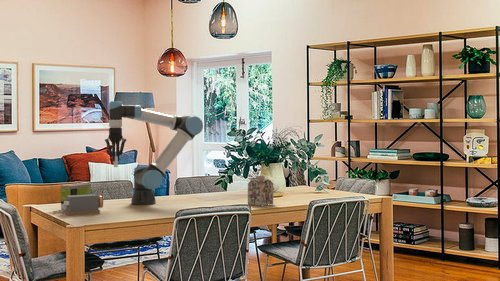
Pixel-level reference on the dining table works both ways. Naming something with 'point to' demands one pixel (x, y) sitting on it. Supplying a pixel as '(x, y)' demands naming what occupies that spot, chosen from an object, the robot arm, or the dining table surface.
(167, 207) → the dining table surface
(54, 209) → the dining table surface
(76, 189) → the tea box
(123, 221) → the dining table surface
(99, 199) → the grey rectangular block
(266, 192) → the decorative jar
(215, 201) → the dining table surface
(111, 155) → the robot arm
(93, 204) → the block
